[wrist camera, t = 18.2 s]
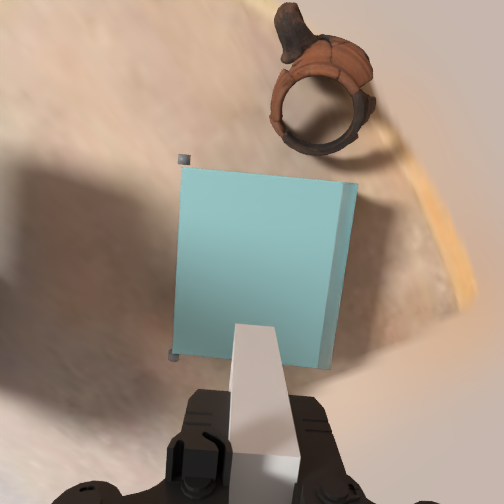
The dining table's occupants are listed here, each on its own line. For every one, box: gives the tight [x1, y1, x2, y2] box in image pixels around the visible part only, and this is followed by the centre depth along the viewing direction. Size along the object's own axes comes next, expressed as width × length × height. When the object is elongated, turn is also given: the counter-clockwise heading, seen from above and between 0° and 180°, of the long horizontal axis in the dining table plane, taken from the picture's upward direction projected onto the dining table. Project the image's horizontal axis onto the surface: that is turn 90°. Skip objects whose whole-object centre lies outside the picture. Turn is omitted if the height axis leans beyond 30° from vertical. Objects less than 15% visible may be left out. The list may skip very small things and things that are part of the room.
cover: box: [172, 167, 358, 370], centre depth 32 cm, size 14×17×1 cm
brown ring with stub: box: [269, 2, 376, 156], centre depth 31 cm, size 12×10×8 cm
